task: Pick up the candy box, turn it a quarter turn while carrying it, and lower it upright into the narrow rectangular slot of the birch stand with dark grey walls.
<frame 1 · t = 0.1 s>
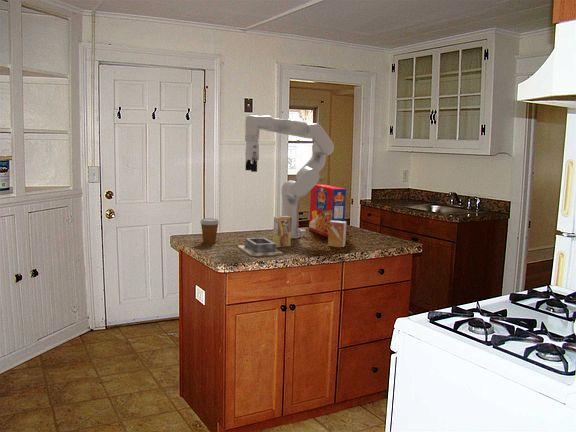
hand: (251, 170, 296), 37 cm above the counter, tool pointing down, fingers open, 9 cm apart
pasta box: (325, 234, 324), on the counter
disposable coffee cup: (209, 242, 285), on the counter
slot stand: (259, 251, 269), on the counter
candy box: (281, 246, 283), on the counter
small box: (336, 246, 289), on the counter
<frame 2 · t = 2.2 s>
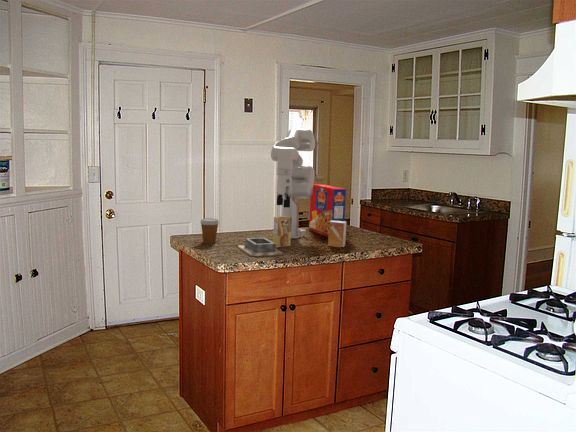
hand: (283, 206, 279), 21 cm above the counter, tool pointing down, fingers open, 9 cm apart
nothing on the counter moved.
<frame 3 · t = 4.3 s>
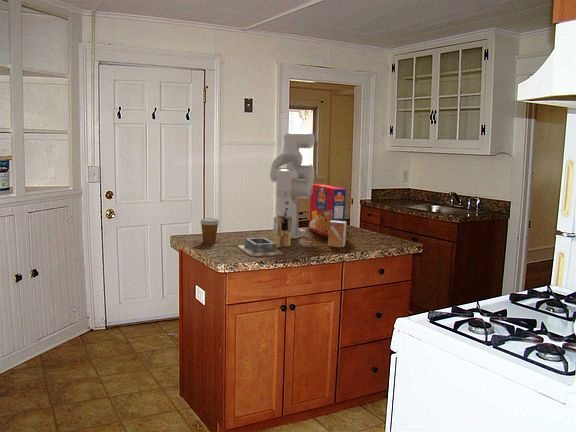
hand: (282, 228, 281), 9 cm above the counter, tool pointing down, fingers closed on candy box, 5 cm apart
candy box: (281, 246, 283), on the counter, touching gripper
everything else where it was.
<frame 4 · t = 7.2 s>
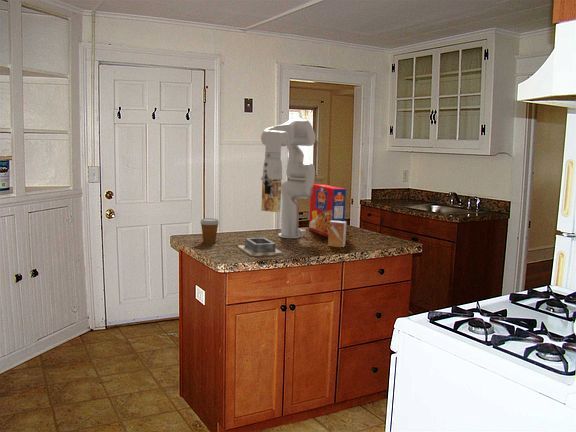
hand: (271, 193, 271), 28 cm above the counter, tool pointing down, fingers closed on candy box, 5 cm apart
candy box: (270, 211, 272), point 19 cm above the counter, touching gripper
everything else where it was.
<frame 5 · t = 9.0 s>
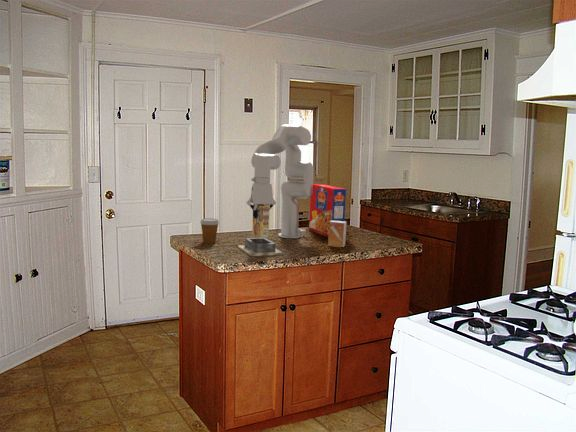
hand: (260, 217, 267), 16 cm above the counter, tool pointing down, fingers closed on candy box, 5 cm apart
candy box: (260, 236, 268), point 7 cm above the counter, touching gripper
everything else where it was.
when the fingers open (13 cm above the counter, at t = 10.2 s): candy box drops 3 cm, resting on slot stand.
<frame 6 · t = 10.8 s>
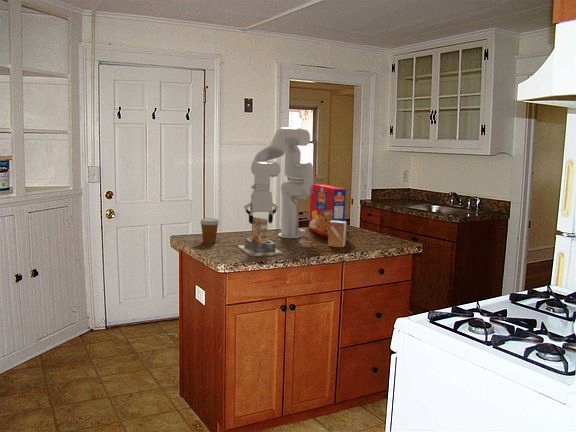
hand: (260, 223, 267), 14 cm above the counter, tool pointing down, fingers open, 9 cm apart
candy box: (259, 249, 269), point 1 cm above the counter, touching slot stand
everything else where it was.
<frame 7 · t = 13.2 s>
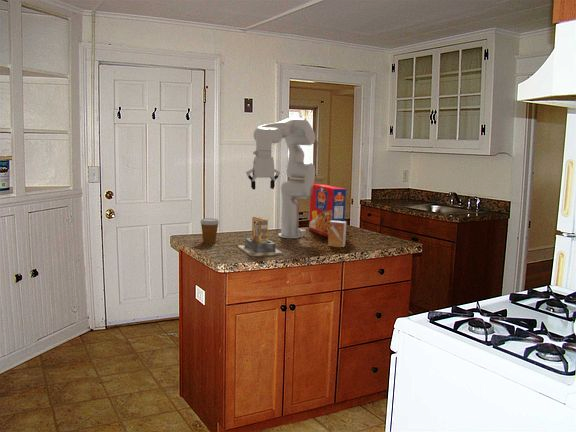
hand: (262, 188, 271), 30 cm above the counter, tool pointing down, fingers open, 9 cm apart
nothing on the counter moved.
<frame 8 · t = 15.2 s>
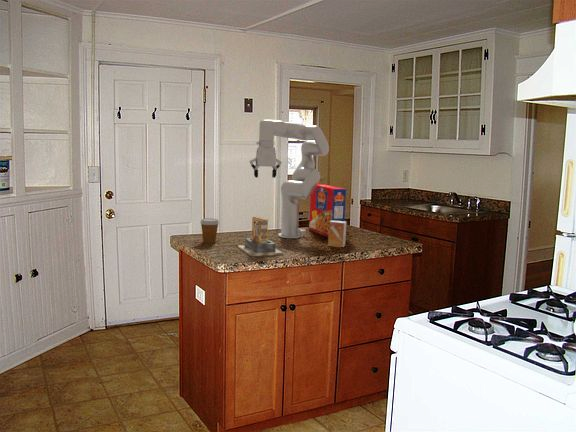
hand: (265, 177, 287), 34 cm above the counter, tool pointing down, fingers open, 9 cm apart
nothing on the counter moved.
at the end: candy box 0.3 cm off-centre on the slot stand, point 0.8 cm above the slot stand's base; candy box tilted 0°; the gripper is holding nothing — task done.
